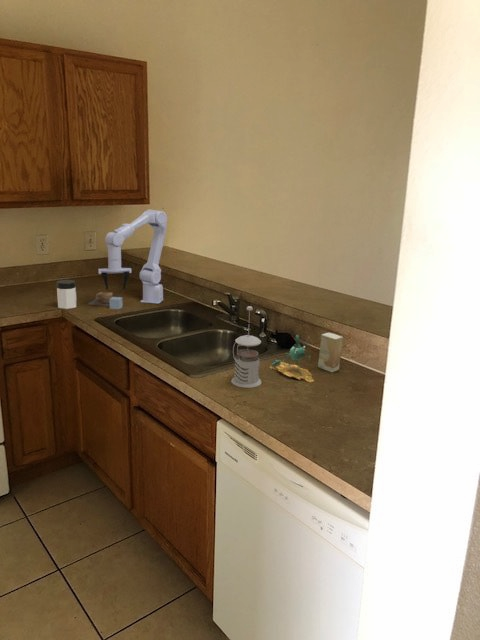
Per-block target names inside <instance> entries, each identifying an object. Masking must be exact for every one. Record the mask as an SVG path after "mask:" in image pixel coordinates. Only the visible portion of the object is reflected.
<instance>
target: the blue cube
mask: <svg viewBox="0 0 480 640" xmlns="http://www.w3.org/2000/svg"><path fill="white" fill-rule="evenodd" d="M109 302H110V306H109V309H112V310H120V309H122V308H124V307H123V296H122V297H121V296H113V297H112V298H110V299H109Z"/></svg>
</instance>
